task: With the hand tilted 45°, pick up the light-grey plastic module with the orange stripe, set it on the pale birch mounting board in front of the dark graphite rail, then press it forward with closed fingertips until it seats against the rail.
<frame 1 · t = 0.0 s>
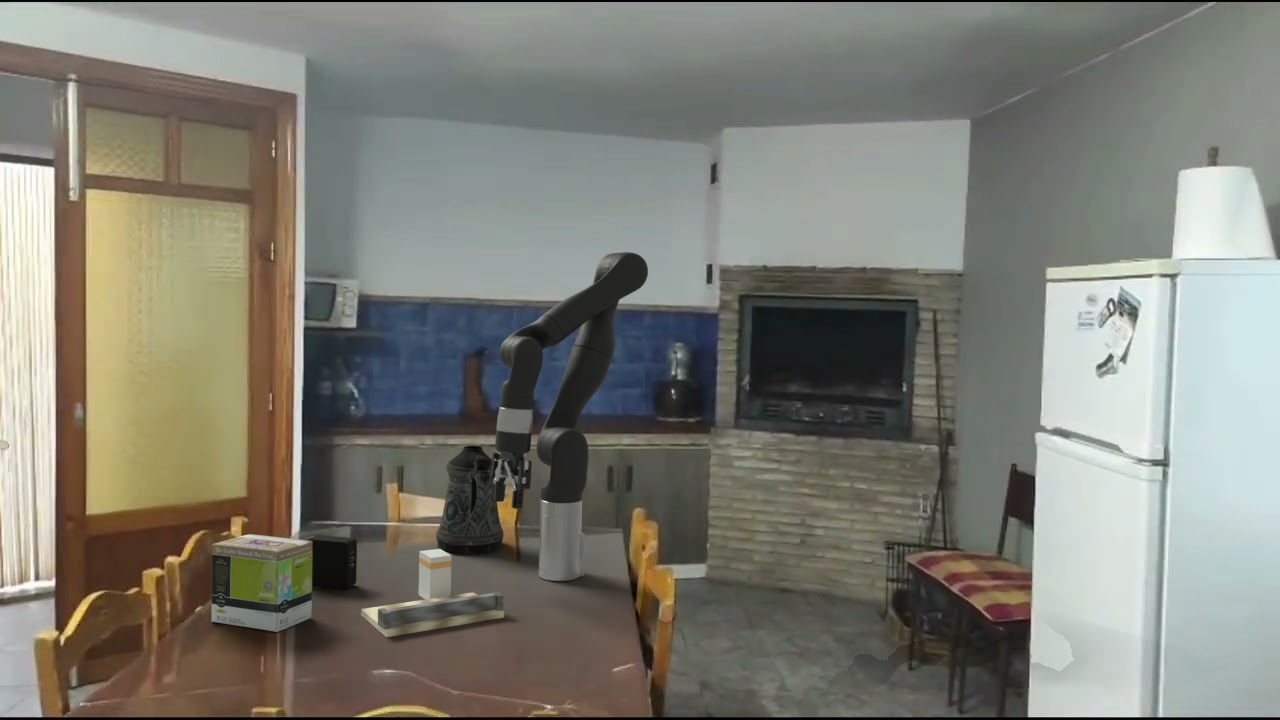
hand: (507, 504, 200), 17 cm above the table, tool pointing down, fingers open, 8 cm apart
electronic device: (329, 586, 196), on the table
mount board: (432, 616, 178), on the table
tea box: (261, 621, 173), on the table
module: (434, 597, 191), on the table
beer stein: (473, 548, 232), on the table
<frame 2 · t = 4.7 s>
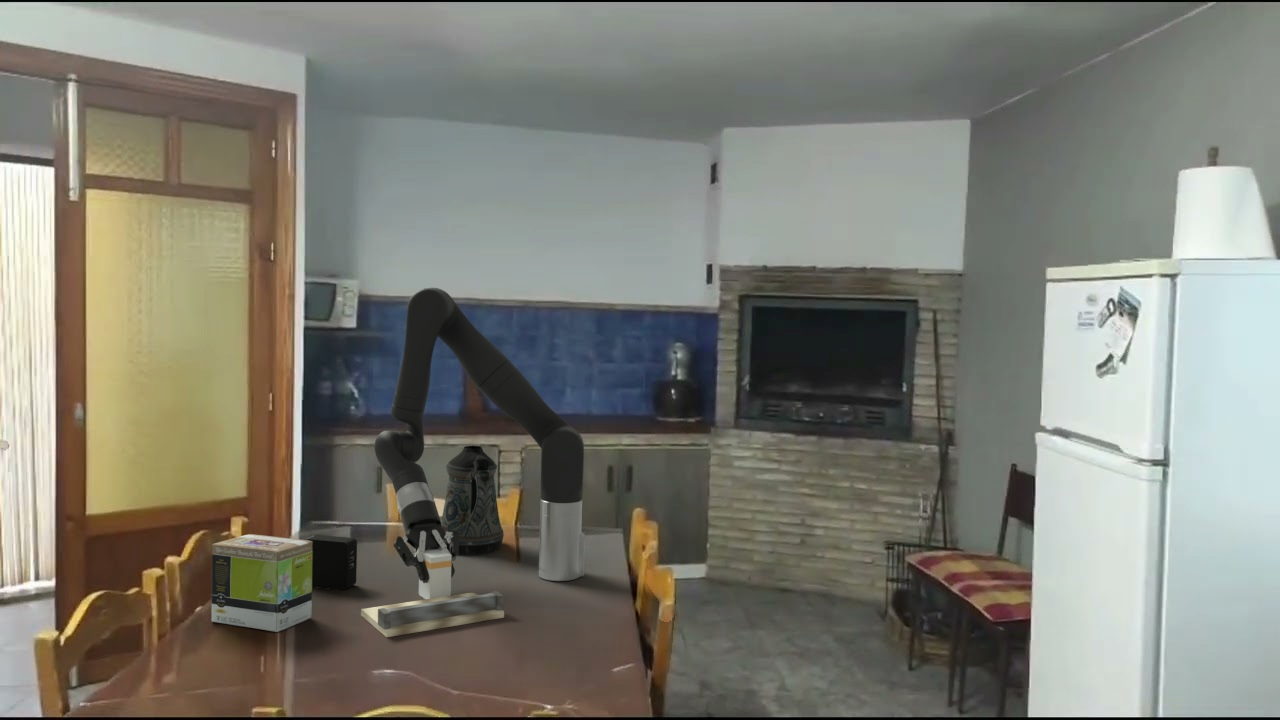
hand: (438, 579, 189), 4 cm above the table, tool tilted 45°, fingers closed on module, 4 cm apart
module: (434, 596, 191), on the table, touching gripper
everything else where it was.
when the fingers open (6 cm above the table, at t = 8.7 s): module drops 1 cm, point 1 cm above the table.
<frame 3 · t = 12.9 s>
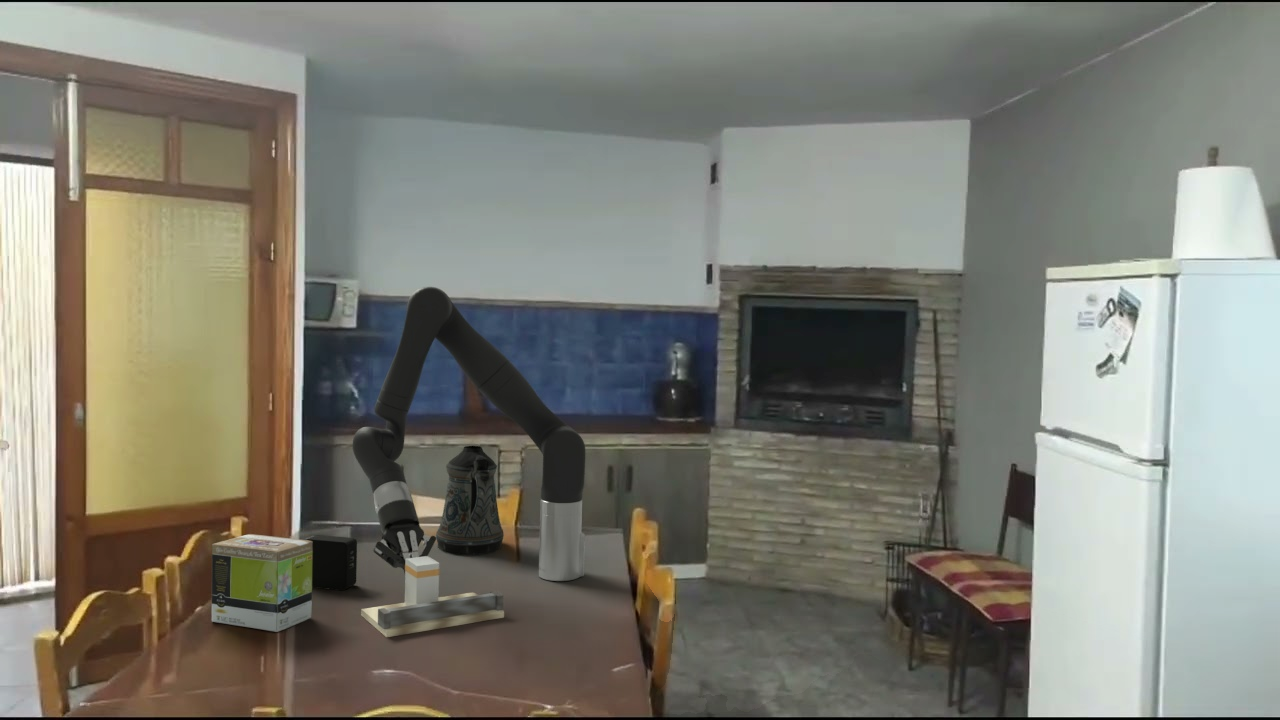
hand: (415, 582, 183), 5 cm above the table, tool tilted 45°, fingers closed
module: (421, 607, 180), point 1 cm above the table
everything else where it was.
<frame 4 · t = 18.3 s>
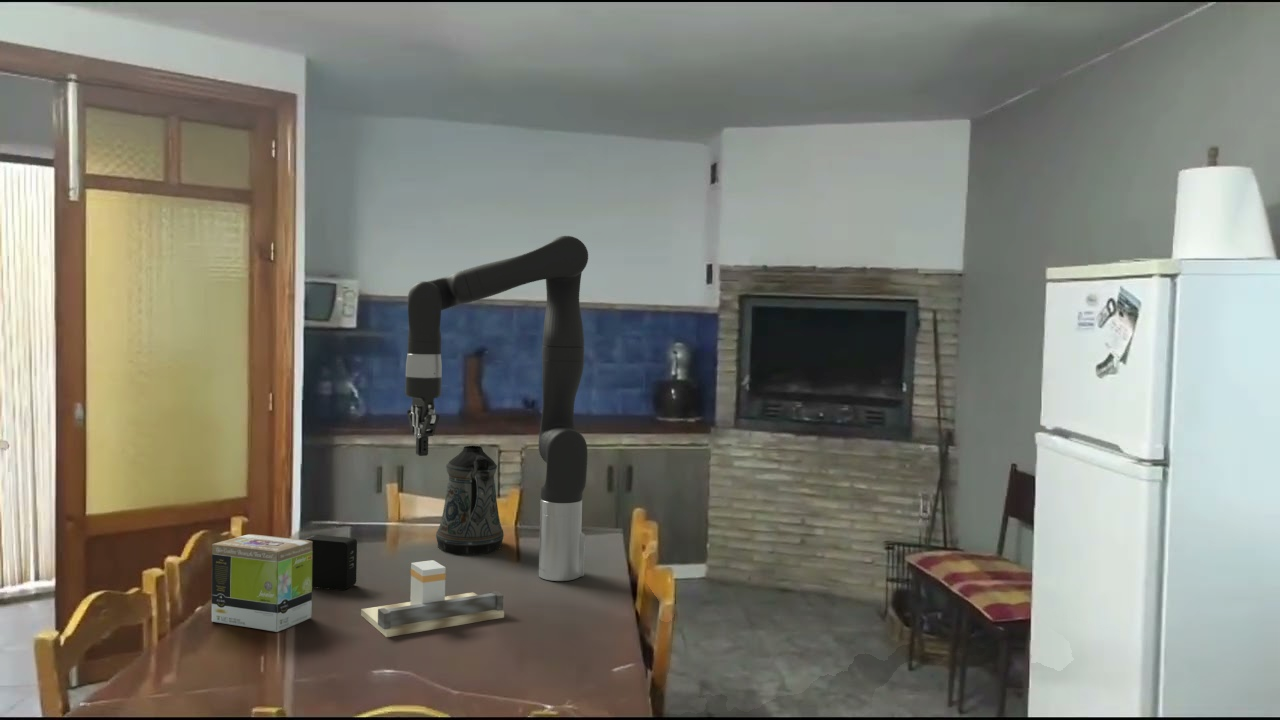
hand: (421, 455, 202), 27 cm above the table, tool pointing down, fingers closed
module: (427, 612, 177), point 1 cm above the table, touching mount board
everything else where it was.
at the end: module inside the target area (0.4 cm from its centre), point 1.2 cm above the table; module tilted 0°; the gripper is holding nothing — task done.
